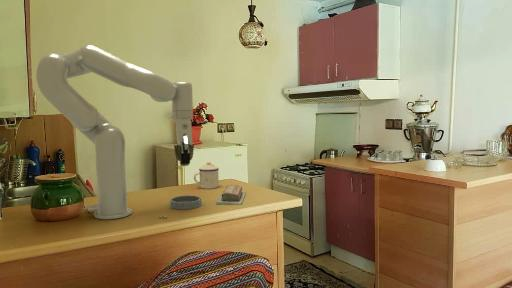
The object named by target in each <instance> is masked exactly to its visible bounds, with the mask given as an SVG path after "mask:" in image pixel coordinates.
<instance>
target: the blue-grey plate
mask: <svg viewBox="0 0 512 288" xmlns="http://www.w3.org/2000/svg"><path fill="white" fill-rule="evenodd" d="M202 205H203V203H202V197H201V196H199V195H190V194H189V195H179V196H173V197H172V198H169V208H170V209H173V210H181V211H182V210H185V211H186V210H193V209H197V208H200V207H202Z"/></svg>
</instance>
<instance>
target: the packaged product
mask: <svg viewBox="0 0 512 288" xmlns="http://www.w3.org/2000/svg"><path fill="white" fill-rule="evenodd" d="M246 194H247V193H246V192H243V186H242V185H241V184H240V185H239V184H228V185H227V186H226V187H225V189H224V190H223V191H222V193H221V194H220V195H219V197H218V199H217V200H216V201H215V202H216V206H217V205H219V206H221V205H223V206H230V205H231V206H233V205H234V206H241V205H242V204H243V201H244V200H245V197H246Z"/></svg>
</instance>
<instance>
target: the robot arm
mask: <svg viewBox="0 0 512 288" xmlns="http://www.w3.org/2000/svg"><path fill="white" fill-rule="evenodd" d="M89 73H90V74H91V73H94V74H95V75H98V76H100V77H101V78H104V79H105V80H108V81H111V82H113V83H115V84H116V85H119V86H122V87H125V88H131V89H134V90H137V91H140V92H143V93H145V94H146V95H149V96H150V98H151V99H152V100H153V101H155V102H158V103H166V102H172V103H171V107H172V120H175V129H176V131H175V132H176V142H177V144H178V146H180V147H181V151H182V153H181V164H189V165H190V164H191V160H190V153H189V145H190V146H192V145H194V143H193V130H192V121H191V120H193V119H194V108H193V107H194V103H193V99H194V98H193V85H192V83H191V82H189V81H175V82H171V81H170V80H169V79H166V78H164V77H163V76H160V75H158V74H156V73H154V72H152V71H150V70H147V69H145V68H143V67H140V66H138V65H137V64H133V63H132V62H129V61H127V60H125V59H123V58H120V57H118V56H116V54H113V53H111V52H109V51H107V50H105V49H103V48H101V47H99V46H96V45H93V44H84V45H83V46H80V48H79V49H77V50H75V51H74V50H73V51H71V52H66V53H65V52H64V53H62V54H59V53H56V52H49V53H46V54H44V55H43V56H42V57H41V58H40V60H39V62H38V65H37V69H36V83H37V85H38V89H39V91H40V92H41V94H42V96H43V97H44V98H45V100H47V101H48V102H49V103H50V104H51V105H52V106H53V107H54V108H55V109H56V110H57V111H58V112H59V113H60V114H62V115H63V116H64V117H65V118H66V119H67V120H68V121H69V122H70V123H71V125H72V126H73V128H76V129H77V130H78V131H79V132H80V133H82V135H84V136H85V138H87V139H88V140H89V141H91V142H92V143H93V144H94V146H95V166H96V167H95V168H96V170H95V171H96V183H97V185H96V186H97V203H94V204H86V205H84V211H85V212H89V213H90V212H94V213H93V214H94V216H93V217H94V218H96V219H99V220H116V219H121V218H126V217H128V216H130V215H132V213H133V209H132V208H130V207H128V198H127V197H128V195H127V194H128V193H127V176H126V175H127V174H126V140H125V136H124V133H123V131H122V130H121V129H120V128H118V127H116V126H115V125H114V124H113V123H111V122H110V121H109V120H108V119H107V118H106V117H105V116H104V115H102V114H101V113H100V111H98V109H97V108H96V106H94V105H93V104H92V103H89V102H88V101H87V100H86V99H85V98H84V97H83V96H82V95H81V94H80V93H79V92H78V91H77V90H76V89H75V88H74V87H73V86H72V85H71V84H70V83H69V81H68V79H72V78H76V77H79V76H83V75H86V74H89Z"/></svg>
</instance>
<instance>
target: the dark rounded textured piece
mask: <svg viewBox="0 0 512 288" xmlns="http://www.w3.org/2000/svg"><path fill="white" fill-rule="evenodd" d="M173 147H174V155H175V159H176V160H177V161H178V162H179V165H180V166H181V167H187V166H189V165H190V164H181V153H182V151H181V147H180V146H179V145H178V143H177V144H173ZM194 147H195V144H193V145H192V146H190V145H189V153H190V161H191V160H192V159H193V157H194V156H193V155H194V151H195V149H194Z"/></svg>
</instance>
